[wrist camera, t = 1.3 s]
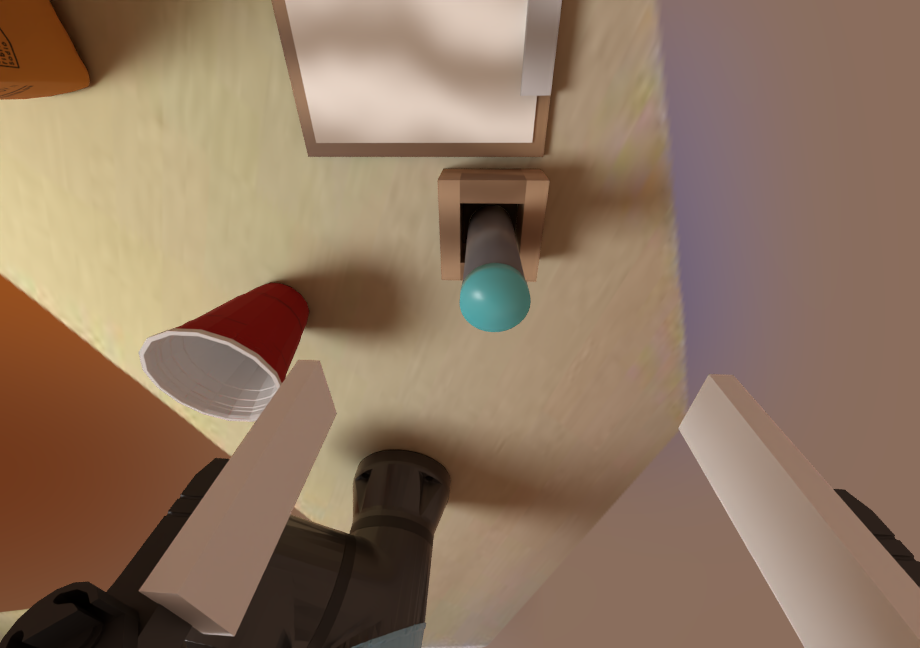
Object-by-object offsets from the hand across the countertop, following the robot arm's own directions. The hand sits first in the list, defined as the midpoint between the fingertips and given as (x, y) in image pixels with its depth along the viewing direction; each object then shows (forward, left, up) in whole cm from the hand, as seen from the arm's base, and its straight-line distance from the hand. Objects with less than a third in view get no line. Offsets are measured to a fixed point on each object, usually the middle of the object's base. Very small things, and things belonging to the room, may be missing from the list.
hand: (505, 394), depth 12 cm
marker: (0, 0, -22) cm, 22 cm away
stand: (0, 0, -22) cm, 22 cm away
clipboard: (+11, +6, -22) cm, 25 cm away
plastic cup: (-10, +22, -22) cm, 33 cm away
